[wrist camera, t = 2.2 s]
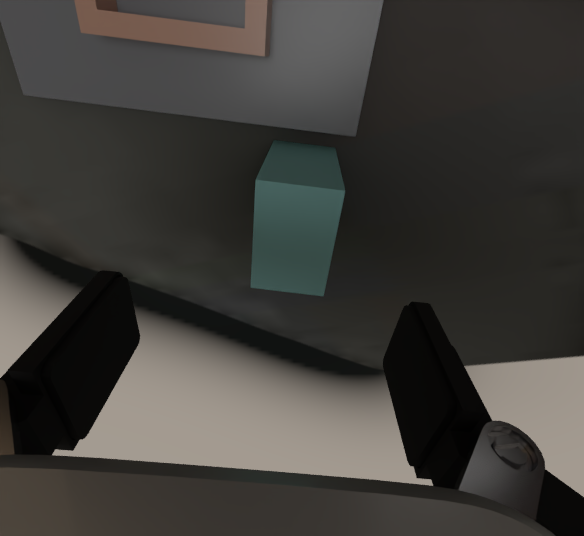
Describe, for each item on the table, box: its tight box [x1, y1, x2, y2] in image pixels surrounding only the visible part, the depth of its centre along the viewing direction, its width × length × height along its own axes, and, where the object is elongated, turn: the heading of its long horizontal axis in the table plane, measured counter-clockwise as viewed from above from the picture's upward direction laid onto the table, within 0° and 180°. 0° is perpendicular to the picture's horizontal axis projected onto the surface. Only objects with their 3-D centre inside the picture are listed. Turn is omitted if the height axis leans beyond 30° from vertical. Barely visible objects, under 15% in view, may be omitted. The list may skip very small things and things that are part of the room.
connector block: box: [251, 140, 345, 296], centre depth 19 cm, size 4×6×8 cm, turn 174°
